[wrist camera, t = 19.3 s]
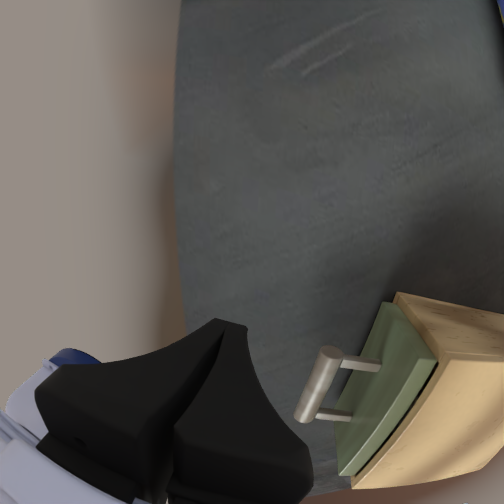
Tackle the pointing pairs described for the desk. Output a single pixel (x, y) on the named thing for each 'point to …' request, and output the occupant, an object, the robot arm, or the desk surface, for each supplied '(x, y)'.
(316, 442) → the desk surface
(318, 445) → the desk surface
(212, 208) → the desk surface
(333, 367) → the drawer
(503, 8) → the pencil case
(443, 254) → the desk surface
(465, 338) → the cabinet
